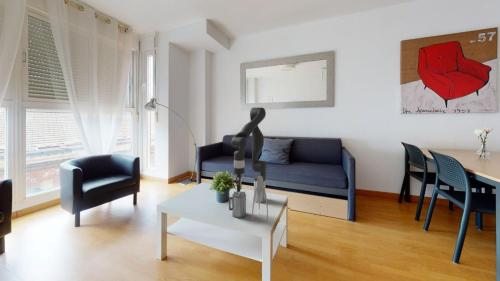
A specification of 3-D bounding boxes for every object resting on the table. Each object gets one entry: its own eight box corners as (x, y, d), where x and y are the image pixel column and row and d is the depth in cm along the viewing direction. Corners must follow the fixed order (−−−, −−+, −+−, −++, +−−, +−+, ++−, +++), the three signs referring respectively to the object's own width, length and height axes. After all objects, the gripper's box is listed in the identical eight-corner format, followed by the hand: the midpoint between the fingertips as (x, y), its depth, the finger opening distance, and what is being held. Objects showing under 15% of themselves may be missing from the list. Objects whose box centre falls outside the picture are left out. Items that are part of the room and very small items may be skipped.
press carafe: (245, 218, 138) (245, 196, 136) (228, 217, 138) (227, 196, 136) (246, 211, 147) (246, 191, 145) (230, 211, 148) (230, 191, 146)
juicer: (266, 214, 144) (266, 172, 140) (267, 220, 135) (268, 176, 131) (251, 214, 143) (251, 172, 140) (252, 220, 134) (252, 176, 131)
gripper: (234, 163, 146) (235, 185, 148) (232, 168, 131) (232, 193, 133) (245, 163, 145) (245, 185, 147) (243, 169, 131) (243, 193, 133)
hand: (239, 189), depth 140 cm, fingers open, 8 cm apart
